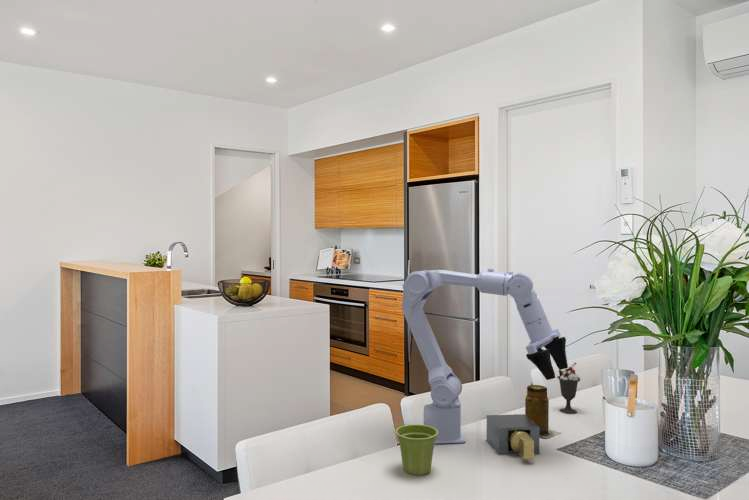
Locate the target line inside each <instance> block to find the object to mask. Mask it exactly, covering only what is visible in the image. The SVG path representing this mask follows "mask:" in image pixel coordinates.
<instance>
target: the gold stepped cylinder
mask: <svg viewBox="0 0 749 500" xmlns="http://www.w3.org/2000/svg"><path fill="white" fill-rule="evenodd" d="M508 442H509V444H510V445H511V448H512V449H513V450H514V451H515V452H516V453H518V454H517V455H519V456H520V457H521V458H522V459H523V460H535V454H534V441H533V440H532V438H531V436H530V435H529V434H528V433H526V432H524V431H522V430H508Z"/></svg>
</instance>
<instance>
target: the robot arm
mask: <svg viewBox="0 0 749 500" xmlns="http://www.w3.org/2000/svg"><path fill="white" fill-rule="evenodd" d="M445 285H453V286H463V287H474V288H477V290H478V291H479V292H480V293H481V294H489V295H495V296H496V295H498V296H504V297H507V296H508V295H510V297H511V298H512V299H513V300H514V302H515V305H516V309H517V311H518V314H519V316H520V319H521V321H522V324H523V326H524V328H525V331H526V333H527V336H528V338H529V340H530V342H529V343H528V345H526V346H525V349H526V352H527V353H526V355H525V356H526V358H527V359H528V360H529V361H530V362H531V363H532V364H534V366H535V367H536V368H537V369H538V370H539V372H540V373H541V374H542V375H543V377H544V378H545V380H546V381H549V380H553V379H555V378H556V373H555V370H554V367H553V364H552V360H553V362H554V364H555V366H556V367H557V369H558V371H559V370H561V371H563V370H565V369H568V368H569V365H568V359H567V358H568V357H567V352H566V342H567V340H566V337H565V336H562V335H561V333H560V331H559V329H558V328H557V329H553V328H552V326H551V324H550V322H549V320H548V318H547V315H546V313H545V310H544V308H543V305H542V303H541V300H540V298H538V295H537V292H535V289H534V282H533V280H532V279H531V277H530V276H528V275H527V274H525V273H521V272H519V273H515V274H514V272H513V271H511V270H509V271H508V272H503V271H494V268H488V269H487V270H482V271H481V272H480V273H478V274H474V273H469V272H468V273H467V272H461V271H460V272H459V271H454V270H453V271H452V270H449V269H448V270H447V269H432V270H428V269H423V270H420V271H416V270H415V271H412V272H410V273H409V274H408V275H407V277H406V279H405V280H404V283H403V284H402V290H403V292H402V293H403V294H402V303H401V310H402V312H403V315H404V318H405V320H406V322H407V325H408V327H409V329H410V331H411V334H412V336H413V338H414V341H415V343H416V346H417V348H418V351H419V353H420V356H421V357H422V360H423V362H424V365H425V368H426V369H427V372H428V383H429V386H430V397H431V400H432V403H429V404H424V406H423V425H427V426H430V427H433V428H435V429H437V431H438V435H437V436H436V440H435V442H434V445H436V444H437V445H438V444H439V445H440V444H463V443H466V440H465V439H464V438H463V436H462V435H461V434H462V433H461V431H462V430H461V427H462V426H461V425H462V424H461V423H462V422H461V421H462V419H461V417H462V416H461V415H462V412H461V411H462V404H461V401H460V399H459V396H460V395H461V393H462V390H463V384H462V381H461V380H460V379H459V378H458V377H457V375H456V374H454V372H453V369H452V367H450V366H449V365H448V364H447V362H446V359H445V358H444V357H445V356H444V355H443V352H442V351H441V348H440V346H439V344H438V341H437V339H436V336H435V334H434V331H433V329H432V327H431V325H430V323H429V320H428V317H427V316H426V313H425V310H424V306H425V305H426V302H427V300H428V298H429V296H430V295H431V294H432V293H433V292H434V291H435V289H436V288H439V287H442V286H445ZM543 348H545V349H543ZM551 358H552V360H551Z"/></svg>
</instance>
